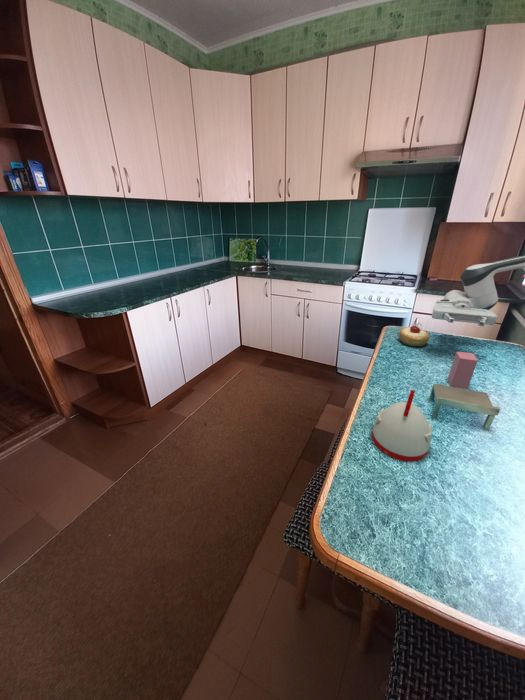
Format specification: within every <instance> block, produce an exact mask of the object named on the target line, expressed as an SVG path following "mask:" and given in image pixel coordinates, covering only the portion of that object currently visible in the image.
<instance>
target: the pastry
mask: <svg viewBox="0 0 525 700" xmlns="http://www.w3.org/2000/svg"><path fill="white" fill-rule="evenodd" d="M419 325H420V327H423V325H422V324H421V322H418V323H417V325H412V326H409V327H408V326H405V327H402V328H400V329H399V331H398V337H399V340H400V342H401V343H402V344H404V345H406V346H409V347H416V348H419V347H423V346H425V345H426V344H427V343H428V342H429V340H430V337H431V336H430V334H429V332H428V331H426V330H423V329H422V328H420V327H419Z"/></svg>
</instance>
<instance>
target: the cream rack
mask: <svg viewBox="0 0 525 700" xmlns="http://www.w3.org/2000/svg"><path fill="white" fill-rule="evenodd" d="M429 393H430V394H429V397H428V401H429V402H434V401H435V405H434V407H433V410H432V414H431V418H432V419H435V420H437V419H438V416H439V413H440V410H441V407H446V408H451V409H456V410H463V411H467V412H472V413H478V414H481V415H482V414H483V415H487V416H486V418H485V420H484V422H483V425H482V429H483V430H486V431H489V430H490V428H491V427H492V424H493V422H494V420H495V417H496V416H498V415H499V414H500V411H501V409H500V407H498V406H494V405H493V403H492V401H491V399H490V397H489V395H488V393H487V392H485V391H478V390H473V389H468V388H467V389H466V388H459V387H452V386H450V385H446V384H445V385H444V384H439V383H432V387H431V389H430V392H429Z"/></svg>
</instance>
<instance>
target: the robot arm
mask: <svg viewBox="0 0 525 700" xmlns="http://www.w3.org/2000/svg"><path fill="white" fill-rule="evenodd" d="M518 269H521V270H523V271H524V272H525V254H524V255H519V256H514V257H510V258H506V259H501V260H496V261H491V262H486V263H478V264H473V265H470V266H468V267H466V268H465V269H463V271H462V272H461V275H460V277H459V279H460V281H461V284H462V286H463V290H464V291H461V290H458V289H452V290H450V291H448V292H446V294H445V295H444V296H443V299H437V300H436V301H435V304H434V305H433V308H432V312H431V318H432V319H434V320H441V321H446V322H447V323H451V324H453V323H454V322H461V323H468V324H477V325H478V326H479V327H485V325H486V326H487V325H488V326H494V325H495V324H496V323H497V320H498V314H496V313H495V312H494V311H492V310H491V309H492V308H494V307H495V306H496V305H497V303H498V302H499V295H498V291H497V287H496V284H495V278H494V276H495V275H496V274H498V273H505V272H508V271H513V270H518Z"/></svg>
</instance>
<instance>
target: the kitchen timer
mask: <svg viewBox="0 0 525 700" xmlns="http://www.w3.org/2000/svg"><path fill="white" fill-rule="evenodd" d="M415 393H416V390H414V389H410V392H409V395H408V399H407V400H406V401H407V402H406V401H400V402H396V403H392V404H391V405H390V406H388V407H386V408H384V407H382V408H381V409H380V411H379V412H378V415H377V417H376V419H375V422H374V423H373V427H372V433H371V438H372V441H373V443H374V444H375V446H376V447H377V448H378V449H379V450H380V451H381V452H382V453H383V454H385V455H387V456H388V457H390V458H393V459H395V460H398V461H403V462H417V461H421V460H423V459H424V458H425V457H427V455H428V453H429V450H430V448H431V441H432V435H433V434H432V433H433V429H432V428H433V423H431V422H430V423H429V422H428V420H427V418H426V416H425V414H424V413H423V411H422V410H421V409H420V408H419V407H418V406H417V405H415V404H413V401H414V397H415Z"/></svg>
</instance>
